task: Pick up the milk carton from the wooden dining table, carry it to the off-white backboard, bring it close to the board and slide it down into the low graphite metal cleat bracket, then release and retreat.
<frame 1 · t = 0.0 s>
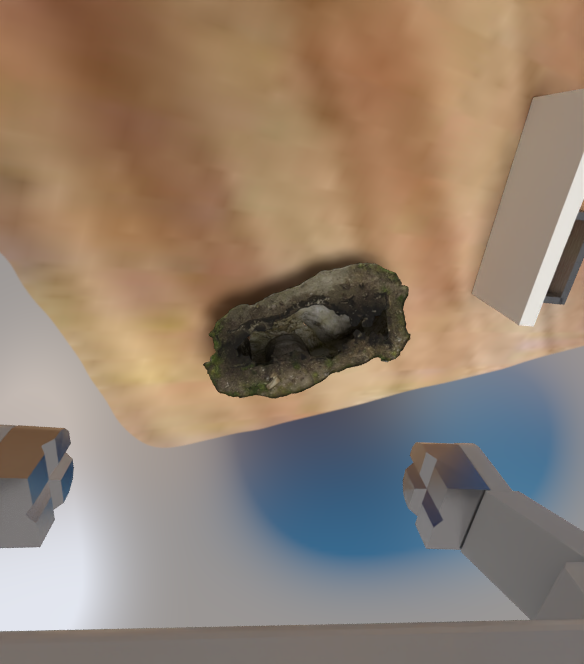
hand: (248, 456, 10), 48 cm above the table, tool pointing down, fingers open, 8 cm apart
hollow geode rock: (301, 314, 61), on the table
wall board: (506, 205, 56), on the table
cleat bracket: (533, 252, 60), on the table
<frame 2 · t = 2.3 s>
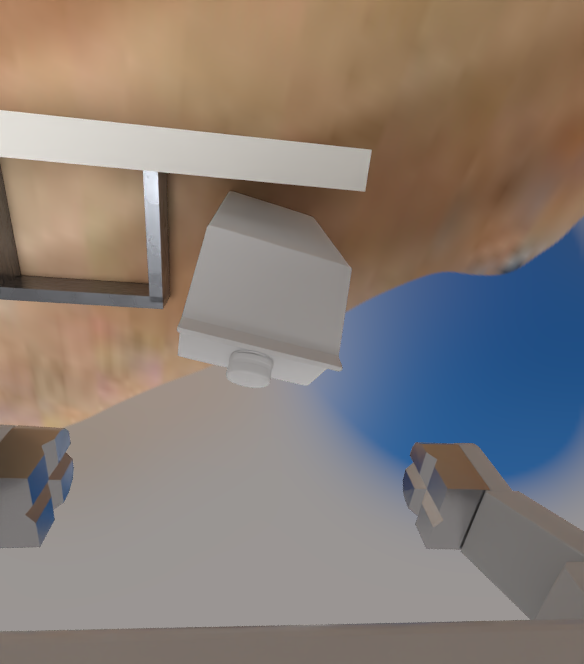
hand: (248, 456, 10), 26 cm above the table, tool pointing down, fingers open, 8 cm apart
milk carton: (260, 245, 34), on the table
wall board: (158, 143, 30), on the table
cleat bracket: (84, 225, 32), on the table
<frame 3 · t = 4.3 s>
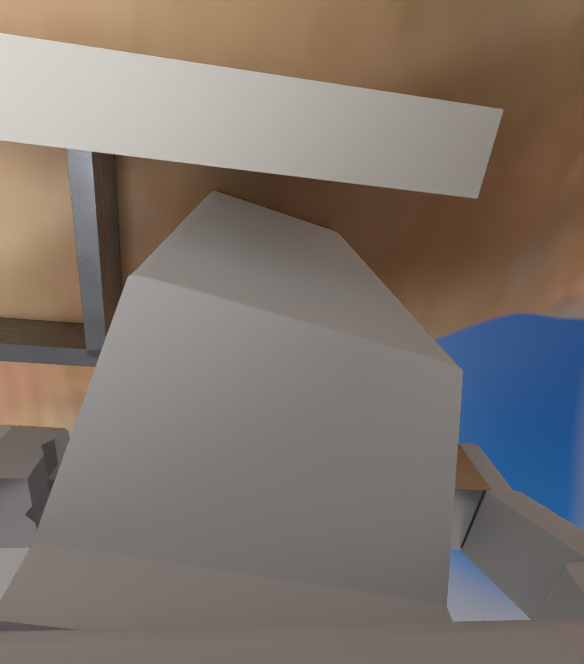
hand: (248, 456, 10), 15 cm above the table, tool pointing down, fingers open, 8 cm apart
milk carton: (258, 271, 23), on the table, touching gripper
wall board: (101, 113, 19), on the table
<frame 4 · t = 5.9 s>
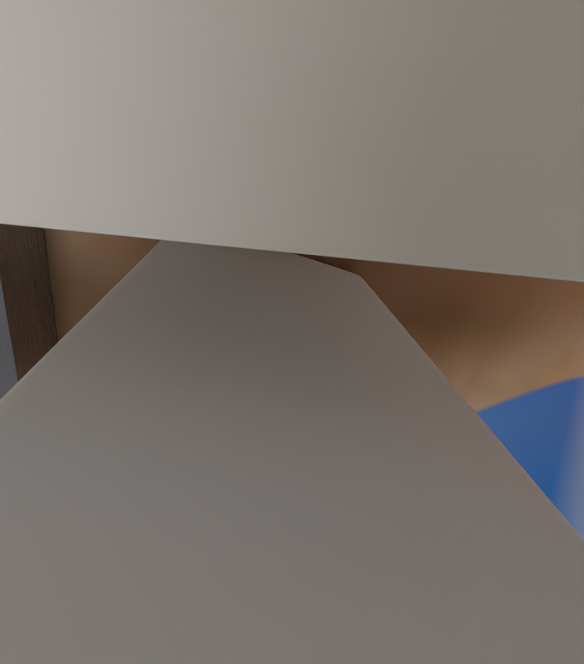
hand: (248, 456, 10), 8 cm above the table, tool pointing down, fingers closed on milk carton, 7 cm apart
milk carton: (249, 327, 17), on the table, touching gripper
wall board: (12, 107, 13), on the table
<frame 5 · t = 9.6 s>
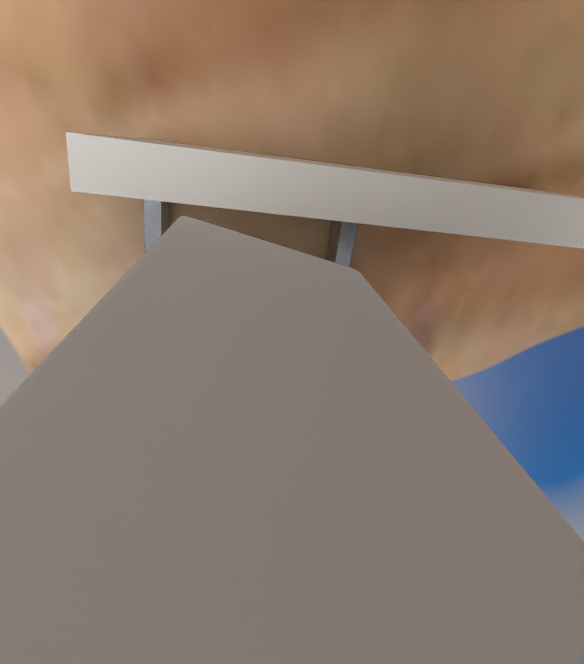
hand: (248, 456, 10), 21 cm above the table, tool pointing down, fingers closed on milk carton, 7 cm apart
milk carton: (248, 322, 17), point 13 cm above the table, touching gripper
wall board: (345, 181, 27), on the table
cleat bracket: (248, 266, 29), on the table
when the fingers open (9 cm above the table, at t = 13.2 s): milk carton stays where it is, resting on wall board.
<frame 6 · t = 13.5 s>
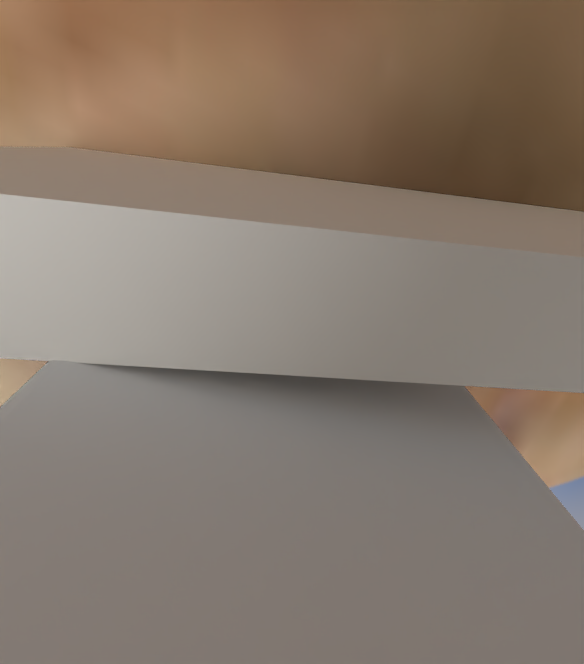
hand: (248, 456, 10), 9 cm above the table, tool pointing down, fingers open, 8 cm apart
milk carton: (262, 324, 17), point 1 cm above the table, touching wall board
wall board: (404, 215, 17), on the table
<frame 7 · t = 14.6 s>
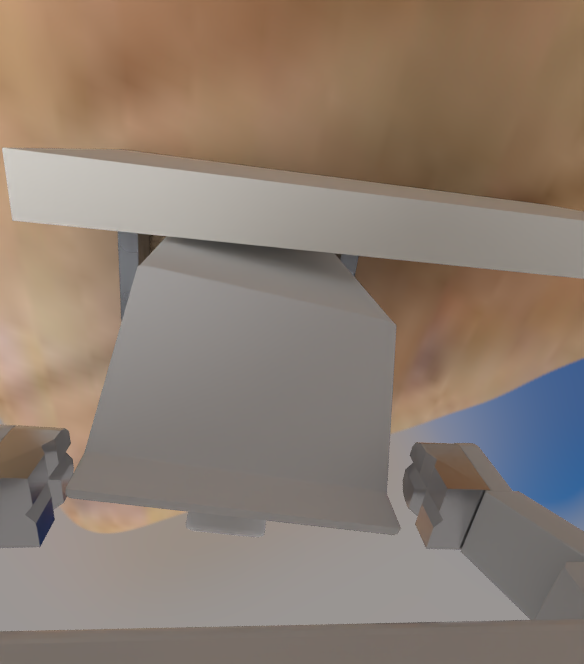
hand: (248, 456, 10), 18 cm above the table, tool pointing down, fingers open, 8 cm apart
milk carton: (245, 269, 26), on the table
wall board: (346, 196, 25), on the table
cleat bracket: (239, 290, 26), on the table
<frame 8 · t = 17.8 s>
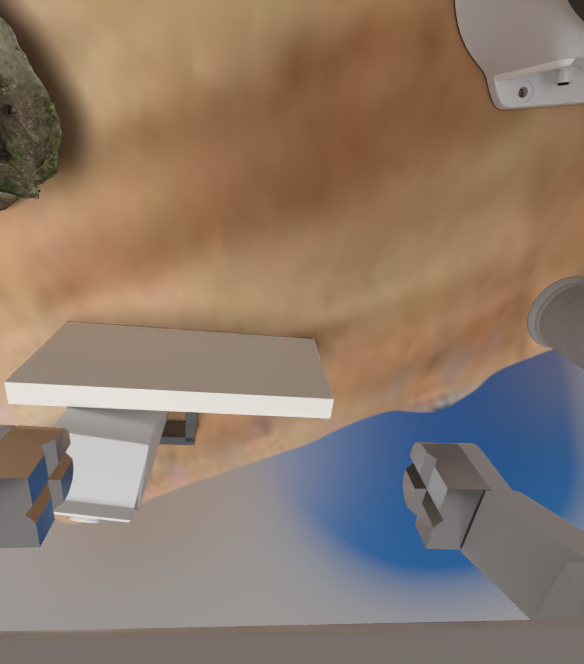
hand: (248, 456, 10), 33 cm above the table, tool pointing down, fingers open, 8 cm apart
milk carton: (143, 375, 46), on the table
wall board: (195, 338, 44), on the table
cleat bracket: (140, 386, 46), on the table
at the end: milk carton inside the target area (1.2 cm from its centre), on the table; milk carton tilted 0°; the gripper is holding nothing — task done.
